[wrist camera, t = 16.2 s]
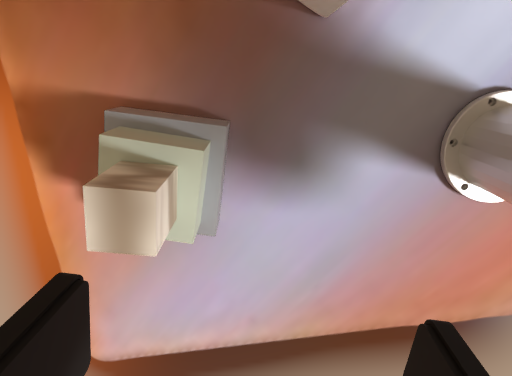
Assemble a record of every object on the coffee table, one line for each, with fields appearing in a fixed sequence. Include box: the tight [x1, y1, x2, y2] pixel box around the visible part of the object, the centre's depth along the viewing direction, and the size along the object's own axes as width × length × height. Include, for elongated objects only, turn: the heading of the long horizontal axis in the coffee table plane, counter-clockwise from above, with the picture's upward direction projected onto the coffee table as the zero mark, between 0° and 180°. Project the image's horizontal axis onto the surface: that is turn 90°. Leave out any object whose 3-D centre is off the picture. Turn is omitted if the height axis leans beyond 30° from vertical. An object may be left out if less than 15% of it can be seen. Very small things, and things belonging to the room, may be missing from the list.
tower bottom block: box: [104, 107, 230, 236], centre depth 39 cm, size 12×12×5 cm
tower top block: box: [98, 126, 211, 244], centre depth 34 cm, size 9×9×5 cm
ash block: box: [83, 161, 178, 257], centre depth 29 cm, size 5×5×7 cm
